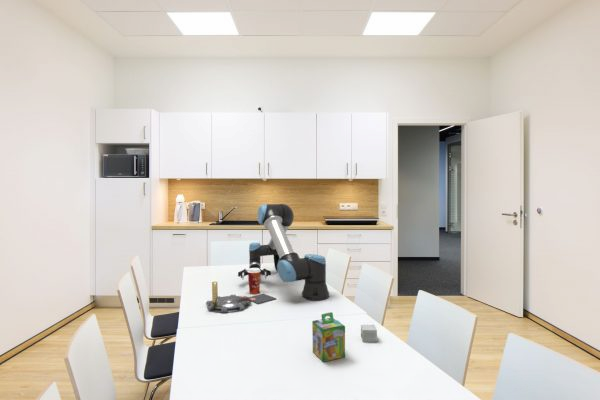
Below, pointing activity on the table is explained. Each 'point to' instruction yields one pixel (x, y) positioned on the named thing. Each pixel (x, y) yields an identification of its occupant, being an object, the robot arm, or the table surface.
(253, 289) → the paper cup
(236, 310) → the sprocket base
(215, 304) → the sprocket
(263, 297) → the marked pad
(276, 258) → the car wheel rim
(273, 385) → the table surface
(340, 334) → the chalk box
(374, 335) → the small box
